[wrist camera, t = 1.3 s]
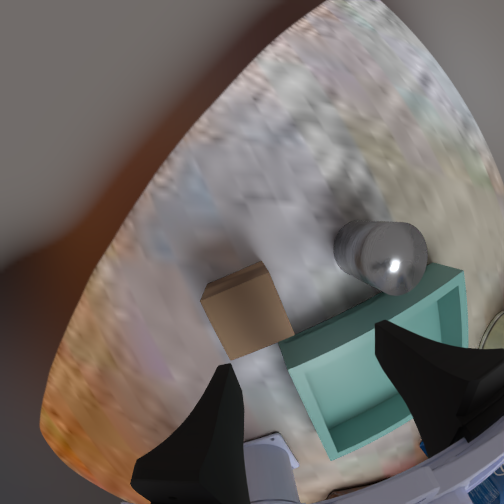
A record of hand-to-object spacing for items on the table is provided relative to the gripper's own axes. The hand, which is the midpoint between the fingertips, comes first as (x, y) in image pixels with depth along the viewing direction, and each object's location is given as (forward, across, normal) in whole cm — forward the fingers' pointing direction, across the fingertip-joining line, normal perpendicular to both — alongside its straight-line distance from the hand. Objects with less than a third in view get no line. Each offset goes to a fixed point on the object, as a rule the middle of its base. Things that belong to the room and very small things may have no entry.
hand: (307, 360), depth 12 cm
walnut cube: (+11, +3, +1) cm, 12 cm away
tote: (+10, -9, +12) cm, 18 cm away
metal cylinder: (+12, -8, 0) cm, 14 cm away
